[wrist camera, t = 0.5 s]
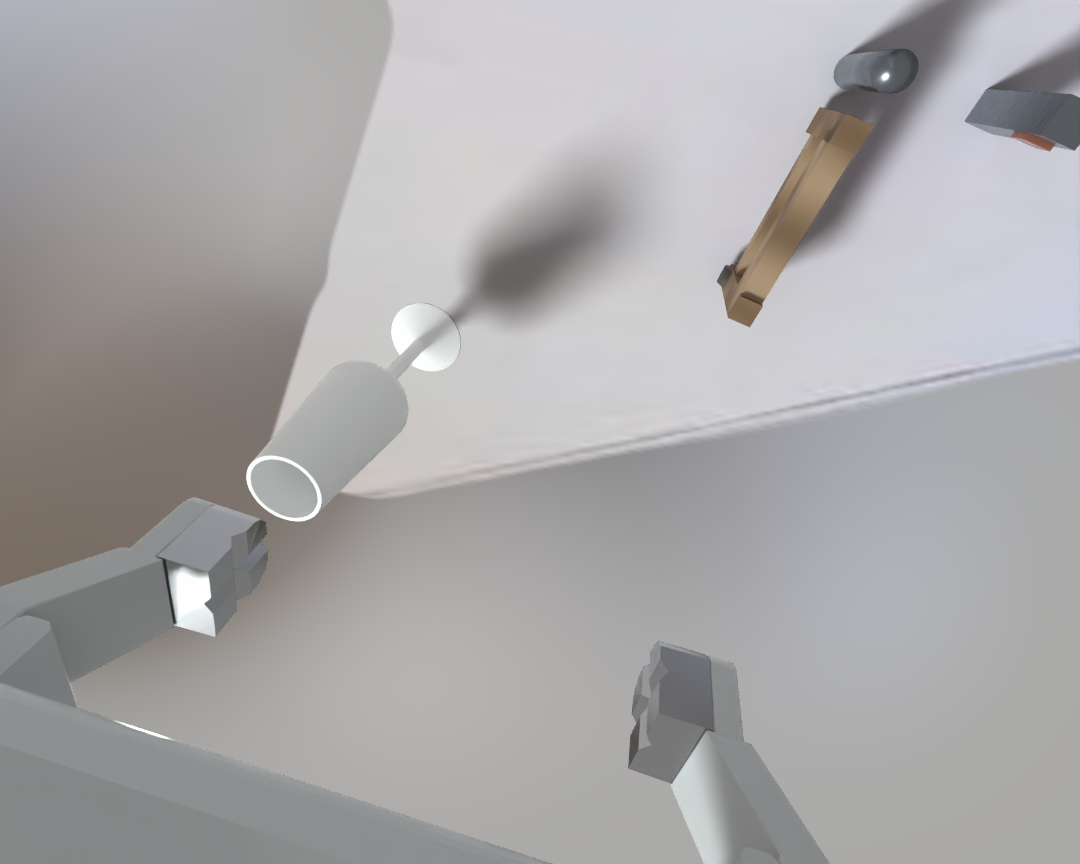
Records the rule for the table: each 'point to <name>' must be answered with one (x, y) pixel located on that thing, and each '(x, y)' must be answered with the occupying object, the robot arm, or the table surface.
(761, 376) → the table surface
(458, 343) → the champagne flute
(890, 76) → the posts
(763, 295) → the gate
